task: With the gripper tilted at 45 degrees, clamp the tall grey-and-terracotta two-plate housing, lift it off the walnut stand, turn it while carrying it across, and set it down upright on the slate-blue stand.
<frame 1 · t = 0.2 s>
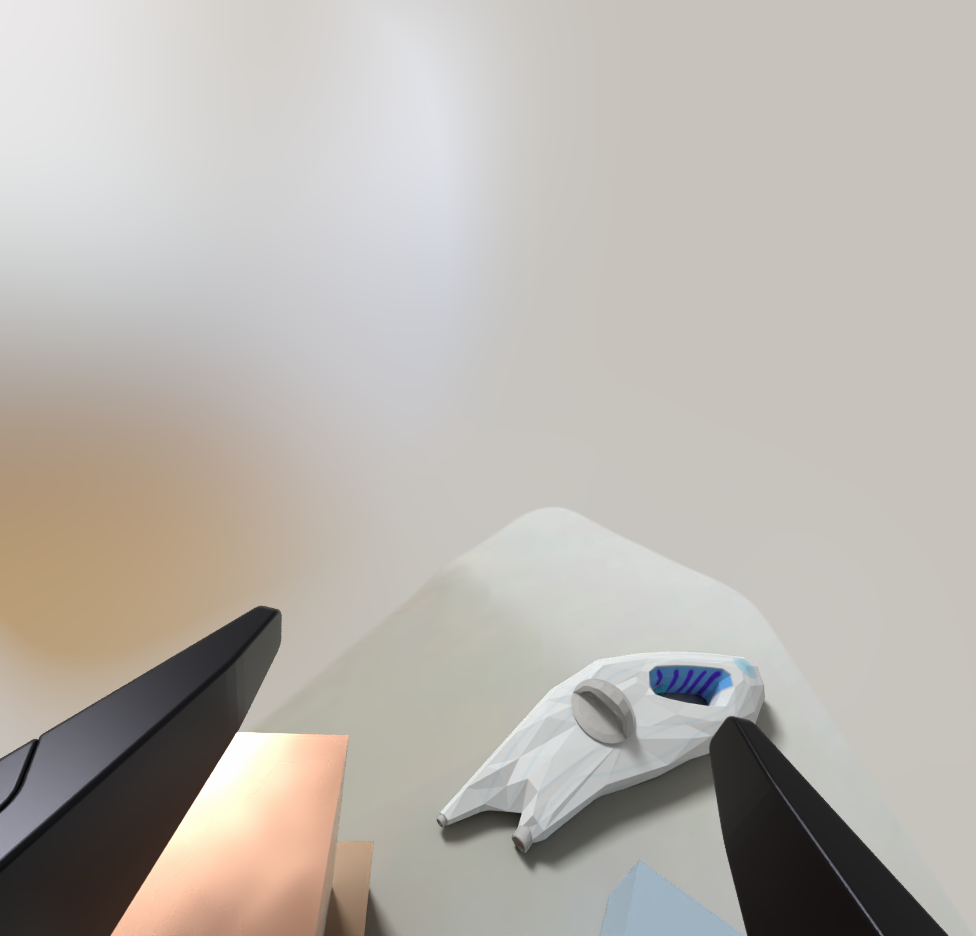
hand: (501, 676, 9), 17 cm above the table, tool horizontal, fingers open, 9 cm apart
spaceship: (626, 751, 26), on the table
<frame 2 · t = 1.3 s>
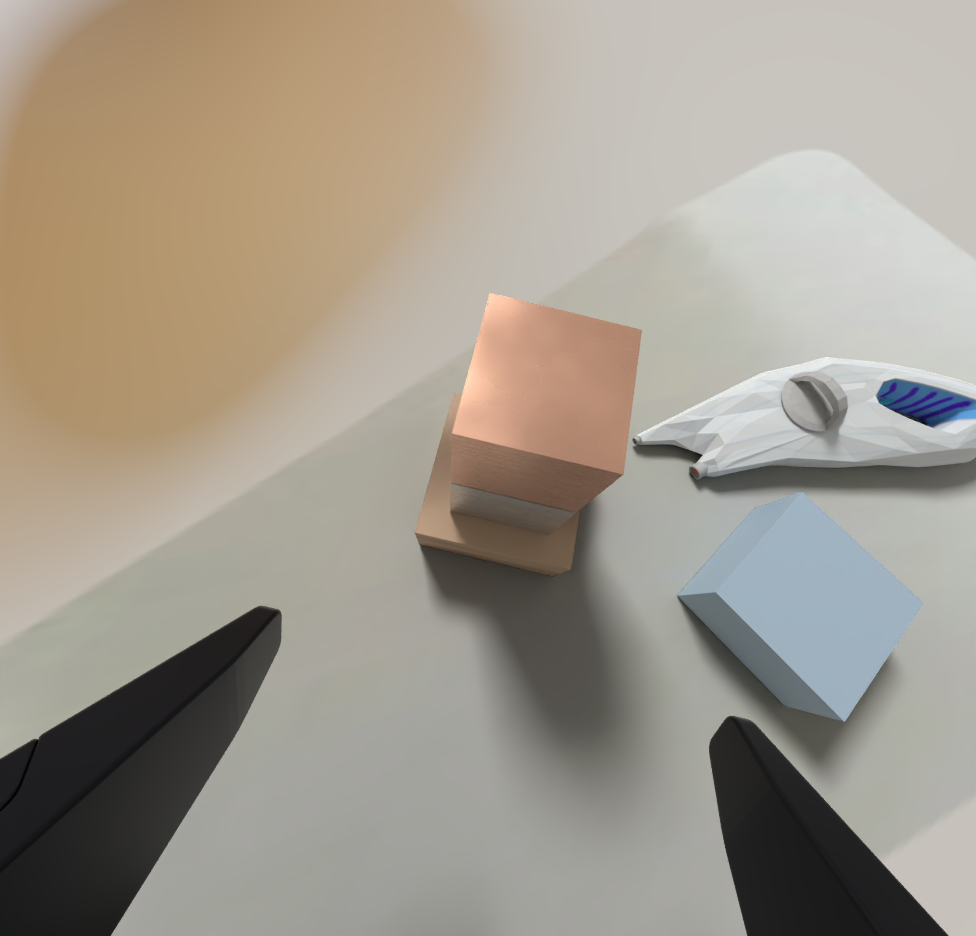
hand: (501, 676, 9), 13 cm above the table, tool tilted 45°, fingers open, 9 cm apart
stand a: (500, 495, 24), on the table
stand b: (768, 600, 23), on the table
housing: (509, 476, 21), point 3 cm above the table, touching stand a
spaceship: (812, 442, 27), on the table
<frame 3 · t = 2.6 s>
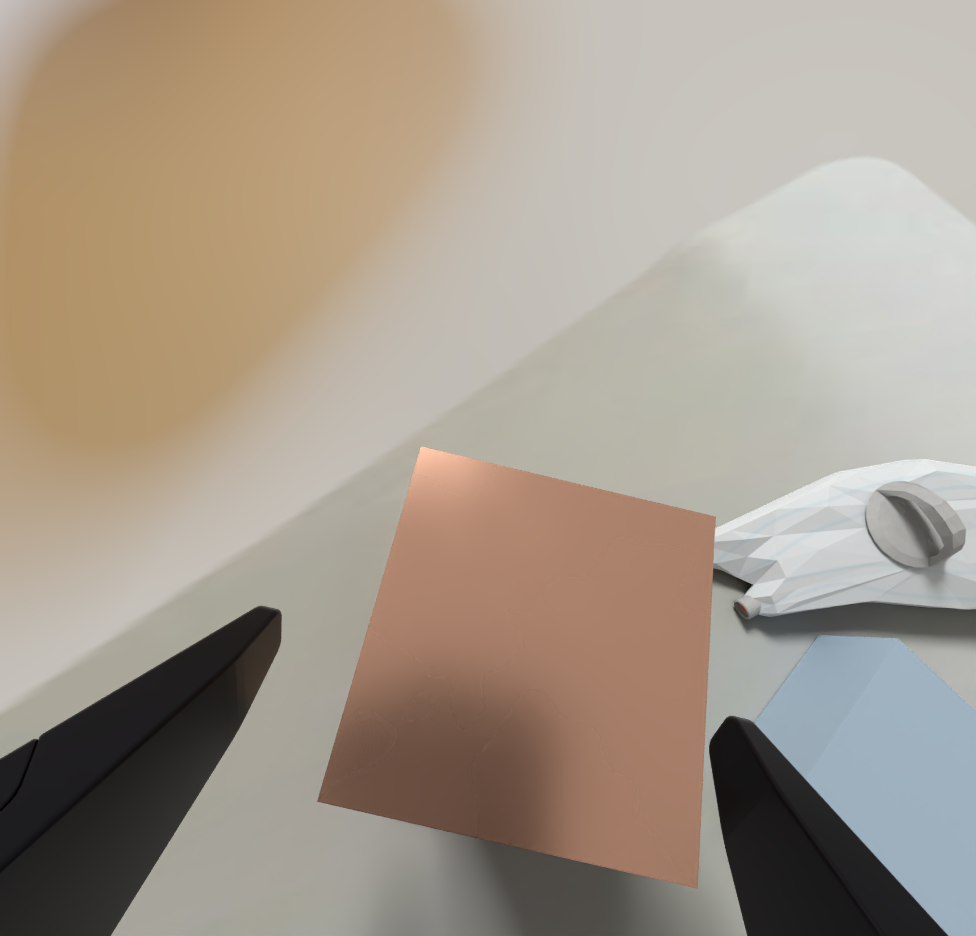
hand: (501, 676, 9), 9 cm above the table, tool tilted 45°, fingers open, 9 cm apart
stand b: (844, 772, 17), on the table
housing: (485, 628, 14), point 3 cm above the table, touching stand a
spaceship: (896, 565, 21), on the table
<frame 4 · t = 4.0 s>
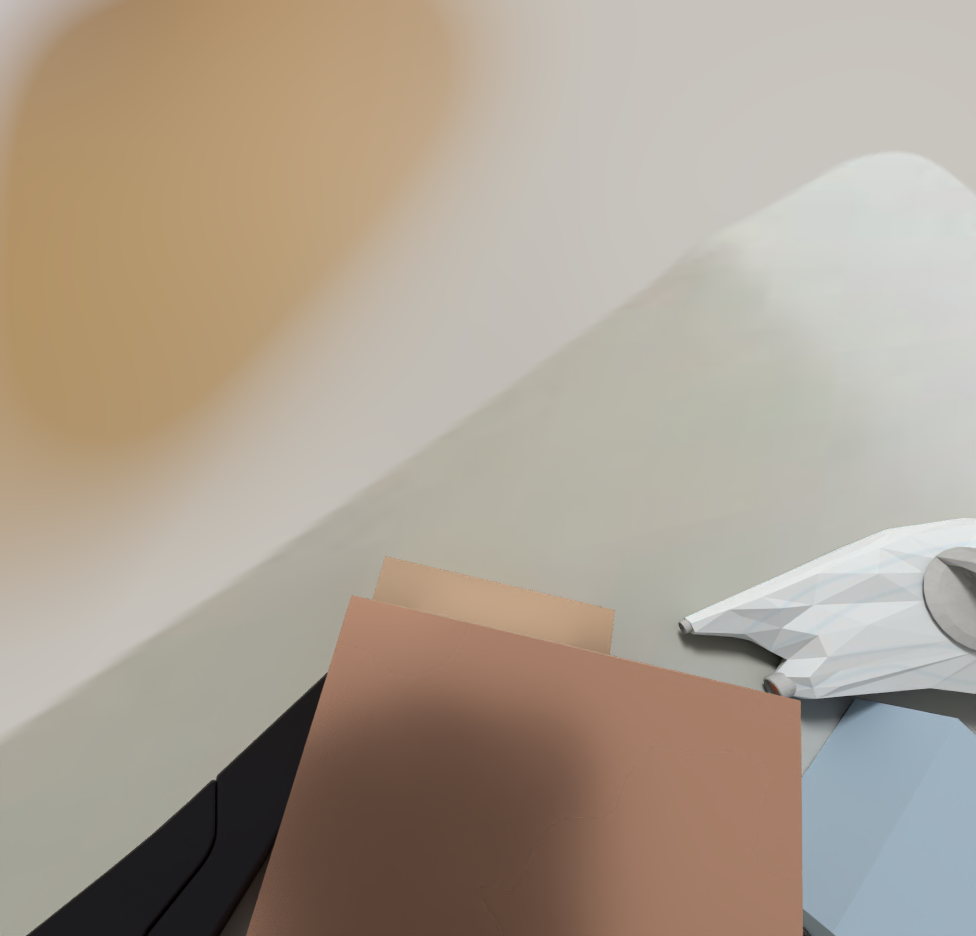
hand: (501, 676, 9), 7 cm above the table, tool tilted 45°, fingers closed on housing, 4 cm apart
stand a: (468, 692, 15), on the table
stand b: (887, 862, 15), on the table
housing: (473, 713, 12), point 3 cm above the table, touching gripper, stand a
spaceship: (950, 637, 18), on the table
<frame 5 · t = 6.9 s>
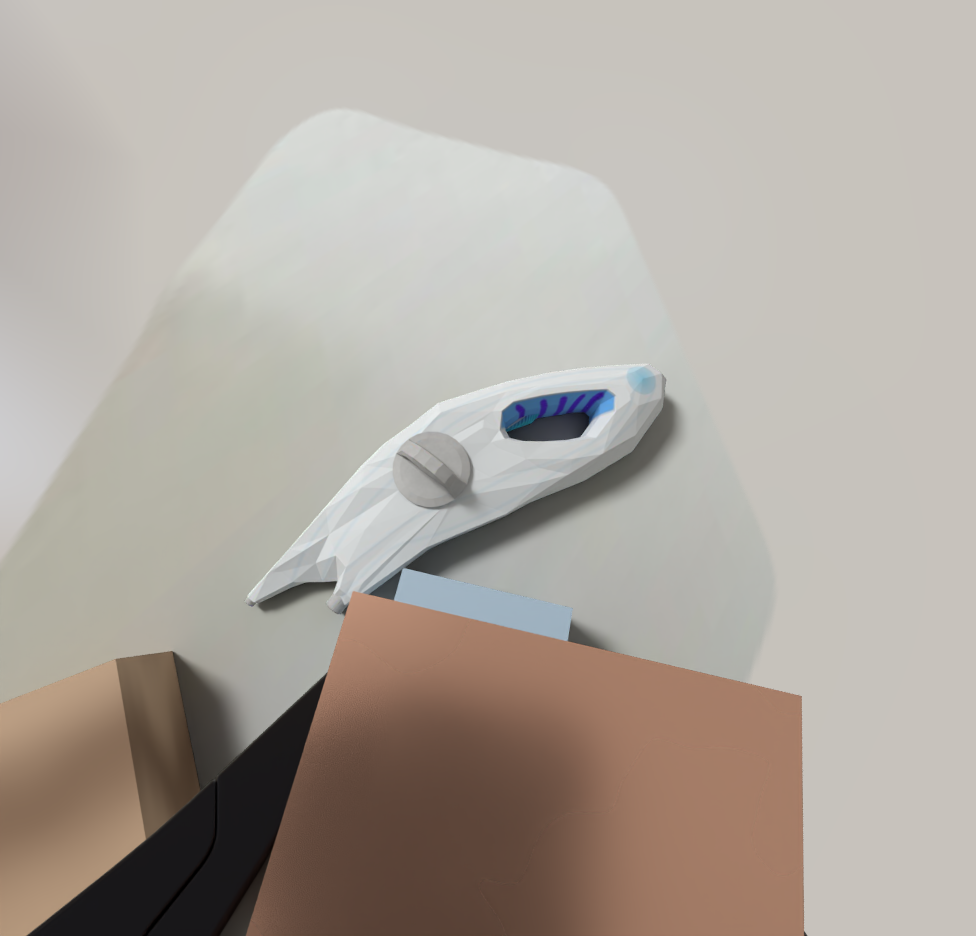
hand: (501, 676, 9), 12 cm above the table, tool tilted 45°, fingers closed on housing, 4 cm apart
stand a: (97, 774, 18), on the table
stand b: (464, 670, 20), on the table
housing: (474, 711, 12), point 8 cm above the table, touching gripper
spaceship: (479, 490, 23), on the table, touching stand b
when the fingers open (9 cm above the table, at t = 7.9 s): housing drops 1 cm, resting on stand b.
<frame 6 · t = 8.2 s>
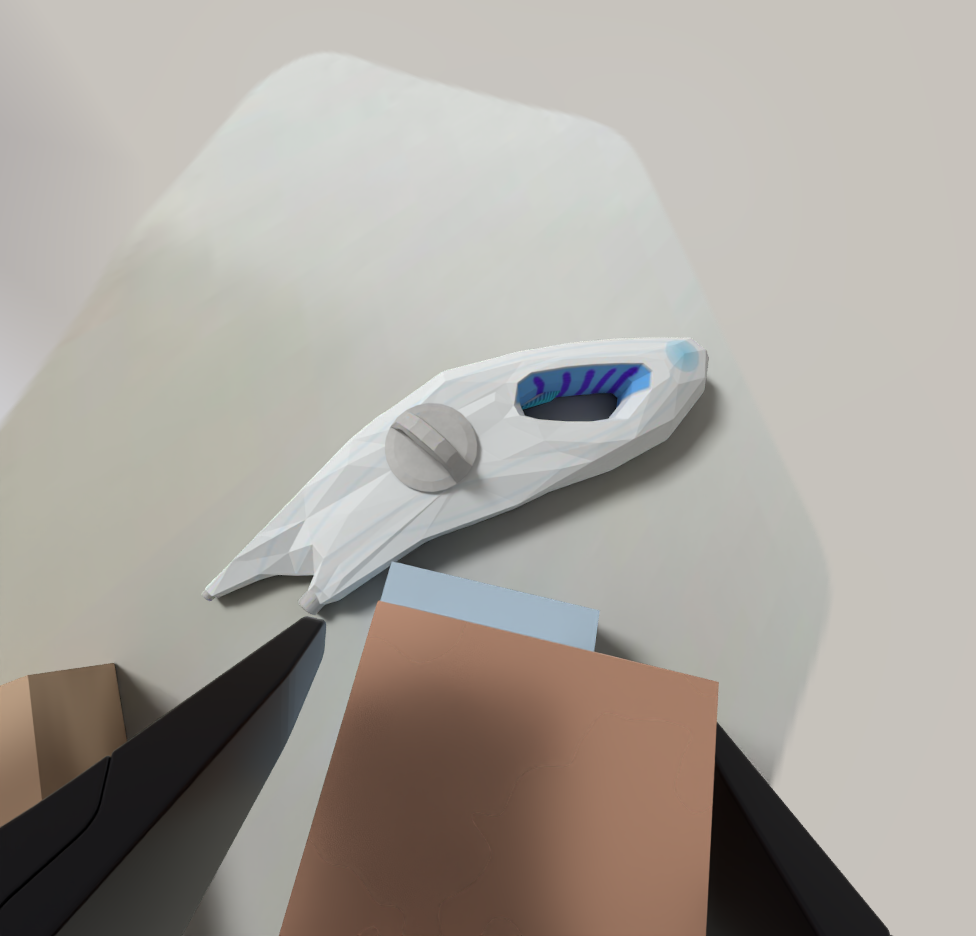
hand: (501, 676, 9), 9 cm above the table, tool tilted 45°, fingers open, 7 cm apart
stand a: (14, 816, 14), on the table
stand b: (466, 685, 17), on the table
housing: (471, 702, 14), point 3 cm above the table, touching stand b
spaceship: (486, 478, 20), on the table, touching stand b
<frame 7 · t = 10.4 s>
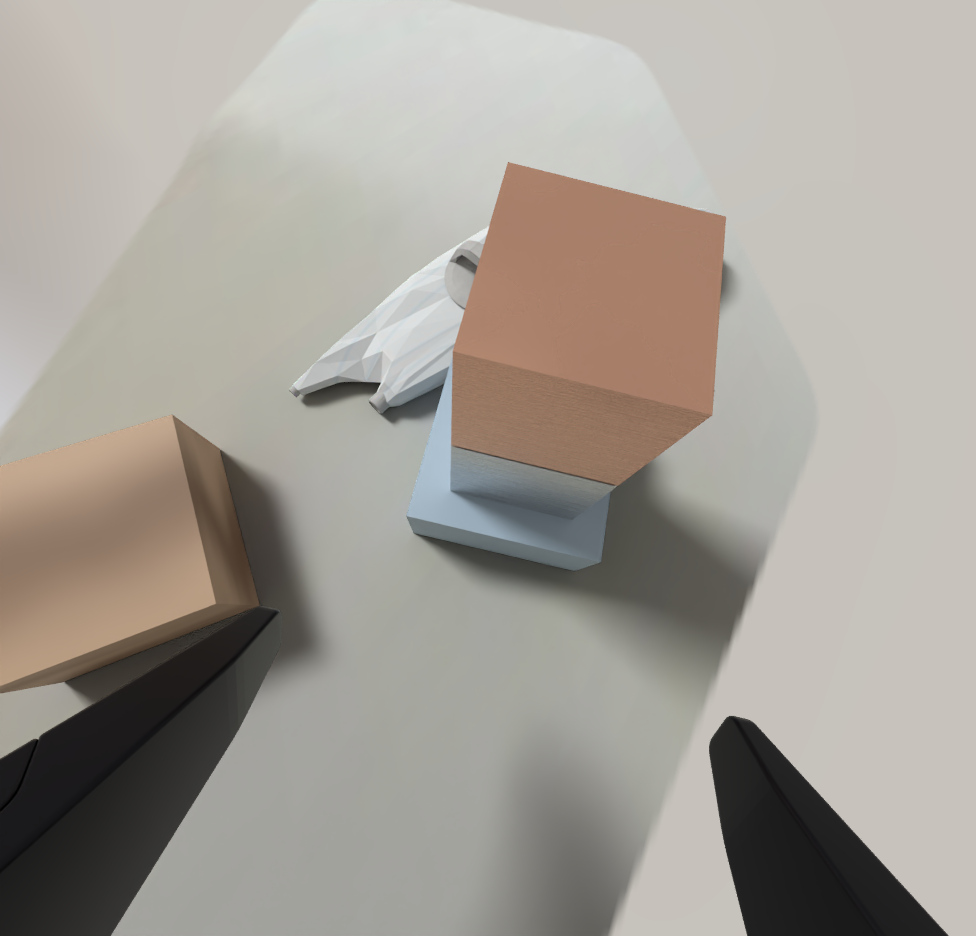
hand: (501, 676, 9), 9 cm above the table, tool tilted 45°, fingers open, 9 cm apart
stand a: (147, 555, 18), on the table
stand b: (510, 475, 20), on the table
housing: (523, 448, 17), point 3 cm above the table, touching stand b
spaceship: (524, 328, 23), on the table
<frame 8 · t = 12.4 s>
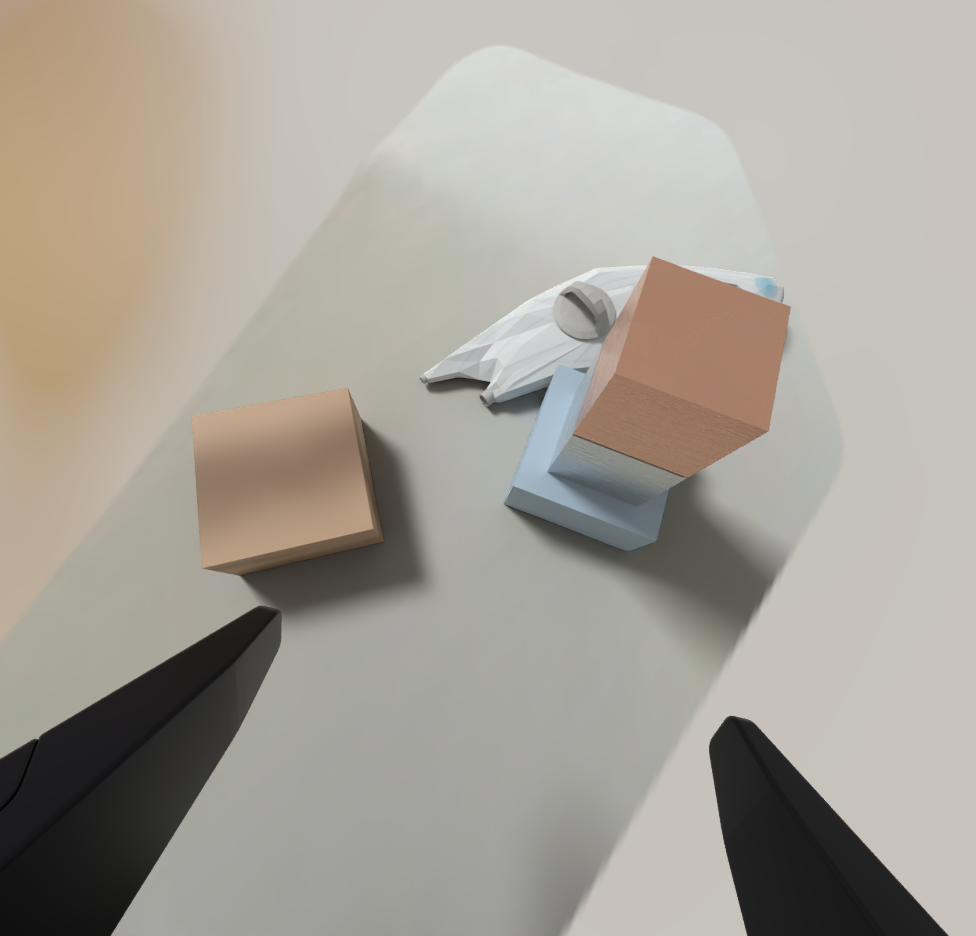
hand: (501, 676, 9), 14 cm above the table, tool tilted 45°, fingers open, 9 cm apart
stand a: (304, 491, 23), on the table
stand b: (583, 469, 25), on the table
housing: (605, 447, 22), point 3 cm above the table, touching stand b
spaceship: (606, 354, 28), on the table, touching stand b
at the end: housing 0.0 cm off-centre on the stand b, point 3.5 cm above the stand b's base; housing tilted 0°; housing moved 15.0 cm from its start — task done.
